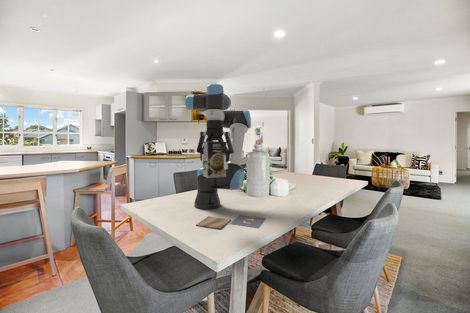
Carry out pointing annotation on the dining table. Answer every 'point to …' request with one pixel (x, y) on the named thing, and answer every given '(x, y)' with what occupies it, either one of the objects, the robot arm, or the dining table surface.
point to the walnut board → (213, 222)
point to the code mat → (248, 221)
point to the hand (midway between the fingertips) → (214, 168)
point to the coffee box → (213, 160)
